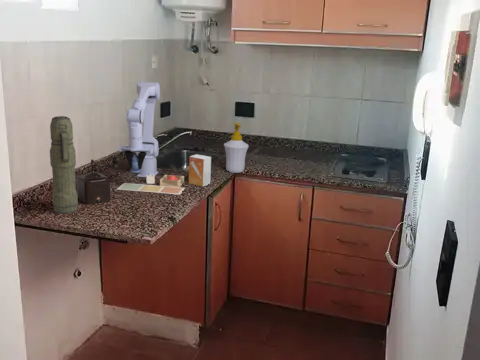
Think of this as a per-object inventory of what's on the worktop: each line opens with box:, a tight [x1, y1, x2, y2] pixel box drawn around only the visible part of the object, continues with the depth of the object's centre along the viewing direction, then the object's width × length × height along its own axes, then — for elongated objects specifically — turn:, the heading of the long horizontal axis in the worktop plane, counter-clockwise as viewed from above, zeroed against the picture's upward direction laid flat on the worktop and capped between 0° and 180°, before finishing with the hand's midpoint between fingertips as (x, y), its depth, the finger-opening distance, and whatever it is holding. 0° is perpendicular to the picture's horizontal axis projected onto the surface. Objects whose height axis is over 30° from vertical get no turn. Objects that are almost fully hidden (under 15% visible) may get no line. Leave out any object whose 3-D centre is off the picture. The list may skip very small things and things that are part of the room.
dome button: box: [166, 174, 178, 181], centre depth 222 cm, size 5×5×4 cm
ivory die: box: [145, 174, 156, 185], centre depth 223 cm, size 4×4×4 cm
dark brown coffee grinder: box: [75, 155, 122, 206], centre depth 196 cm, size 16×11×18 cm
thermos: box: [49, 115, 79, 215], centre depth 179 cm, size 9×12×35 cm
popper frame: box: [159, 174, 185, 188], centre depth 222 cm, size 9×9×3 cm
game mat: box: [116, 182, 186, 196], centre depth 214 cm, size 10×28×1 cm, turn 84°
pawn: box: [130, 154, 141, 174], centre depth 212 cm, size 4×4×8 cm
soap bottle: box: [223, 122, 249, 174], centre depth 247 cm, size 13×13×25 cm
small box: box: [188, 153, 212, 188], centre depth 224 cm, size 8×6×13 cm
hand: (135, 168), depth 213 cm, fingers closed on pawn, 3 cm apart
